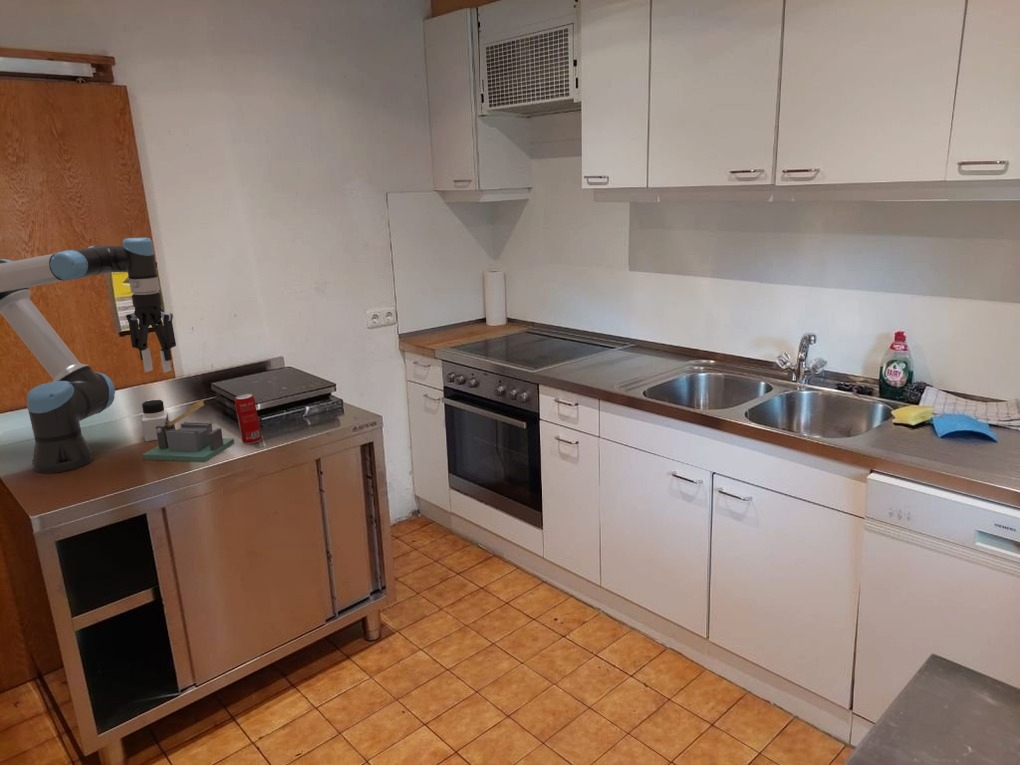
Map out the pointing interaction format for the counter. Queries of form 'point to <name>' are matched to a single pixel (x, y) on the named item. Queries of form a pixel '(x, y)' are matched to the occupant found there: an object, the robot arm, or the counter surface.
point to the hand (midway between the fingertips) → (158, 371)
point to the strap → (186, 413)
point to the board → (186, 455)
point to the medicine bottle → (153, 418)
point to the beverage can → (247, 418)
